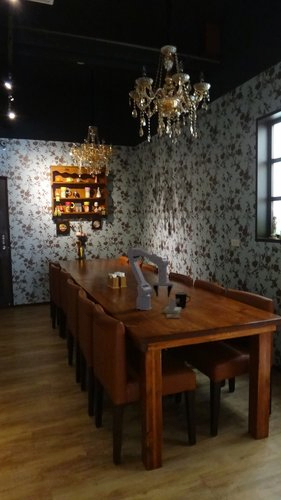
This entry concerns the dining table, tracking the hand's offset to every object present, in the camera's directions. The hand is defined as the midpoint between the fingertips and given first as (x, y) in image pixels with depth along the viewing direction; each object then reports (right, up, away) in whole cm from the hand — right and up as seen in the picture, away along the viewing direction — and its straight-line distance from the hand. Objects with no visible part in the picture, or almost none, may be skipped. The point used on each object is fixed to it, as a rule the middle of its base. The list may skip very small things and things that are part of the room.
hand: (162, 296), depth 223 cm
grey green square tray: (+7, -10, +2) cm, 12 cm away
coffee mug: (+14, -10, +13) cm, 22 cm away
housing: (+7, -8, +2) cm, 10 cm away
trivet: (+5, -11, -12) cm, 17 cm away
